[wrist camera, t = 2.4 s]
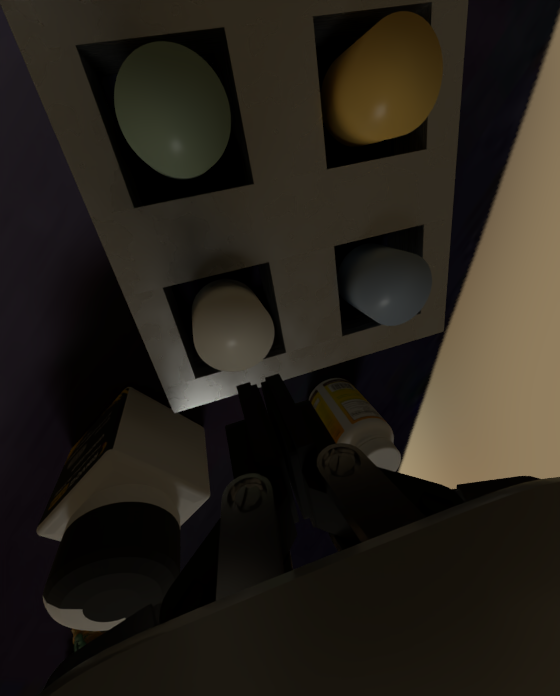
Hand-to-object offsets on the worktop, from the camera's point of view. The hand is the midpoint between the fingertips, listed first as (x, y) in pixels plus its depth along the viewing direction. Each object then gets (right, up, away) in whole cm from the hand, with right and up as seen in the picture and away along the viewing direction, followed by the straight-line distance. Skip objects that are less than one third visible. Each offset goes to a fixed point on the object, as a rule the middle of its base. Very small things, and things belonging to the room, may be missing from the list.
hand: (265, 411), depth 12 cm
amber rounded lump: (+5, +16, +6) cm, 18 cm away
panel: (0, +11, +9) cm, 14 cm away
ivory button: (-3, +5, +9) cm, 10 cm away
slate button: (+7, +7, +10) cm, 14 cm away
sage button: (-5, +13, +4) cm, 15 cm away
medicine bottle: (-10, -5, +13) cm, 18 cm away
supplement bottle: (+5, -2, +17) cm, 18 cm away
